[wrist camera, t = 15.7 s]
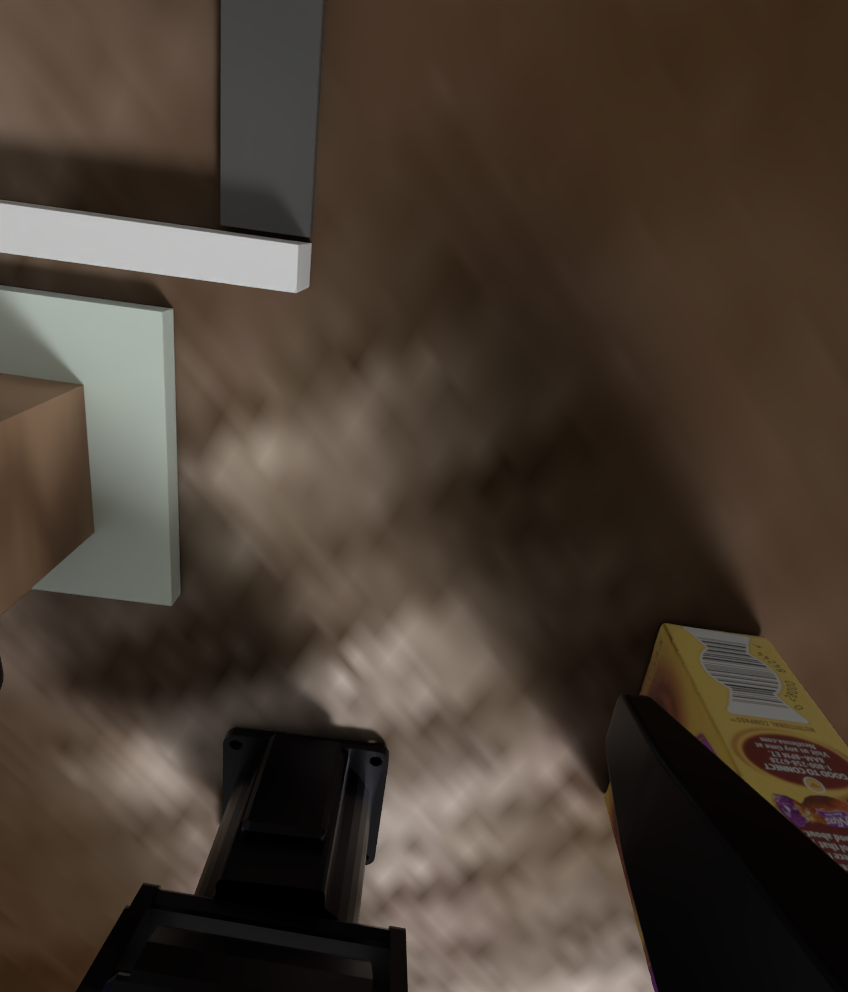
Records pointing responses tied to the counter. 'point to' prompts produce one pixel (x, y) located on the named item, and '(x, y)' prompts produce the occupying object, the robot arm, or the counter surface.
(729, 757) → the candy box
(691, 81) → the counter surface
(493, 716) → the counter surface
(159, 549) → the pad
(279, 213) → the channel
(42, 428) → the block
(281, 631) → the counter surface
